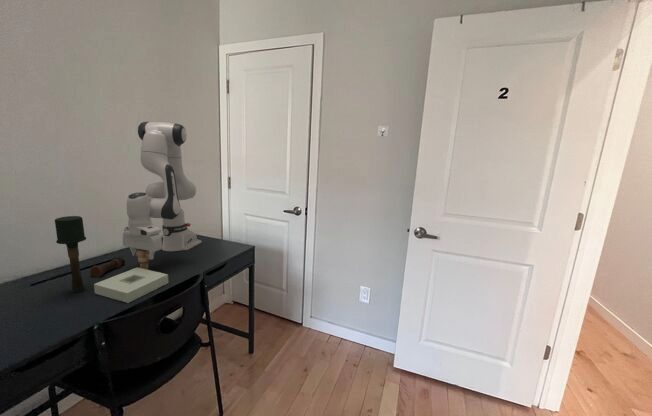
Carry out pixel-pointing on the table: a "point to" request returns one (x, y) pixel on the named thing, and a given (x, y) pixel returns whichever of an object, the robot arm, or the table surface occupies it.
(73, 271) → the grenade
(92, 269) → the bolt
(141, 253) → the peg
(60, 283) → the table surface
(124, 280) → the board
